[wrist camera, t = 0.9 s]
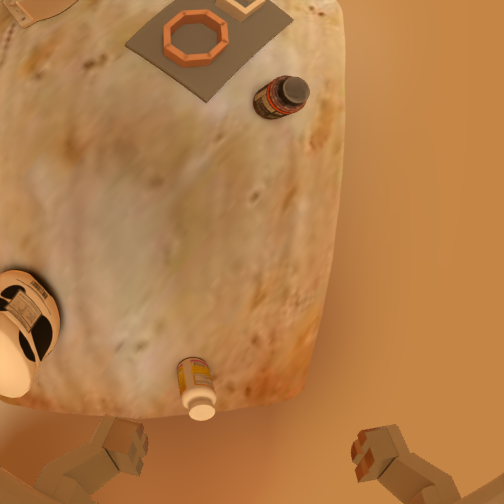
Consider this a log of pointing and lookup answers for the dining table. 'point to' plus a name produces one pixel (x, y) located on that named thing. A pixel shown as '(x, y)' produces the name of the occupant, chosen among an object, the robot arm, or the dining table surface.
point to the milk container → (24, 330)
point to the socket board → (207, 39)
